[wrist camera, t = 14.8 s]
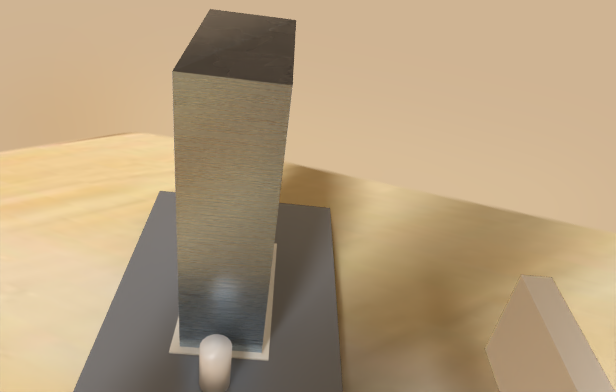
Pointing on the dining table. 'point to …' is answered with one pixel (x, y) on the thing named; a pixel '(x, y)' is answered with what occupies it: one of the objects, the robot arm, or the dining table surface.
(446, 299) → the dining table surface
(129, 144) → the dining table surface
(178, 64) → the block
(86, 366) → the slotted base plate
